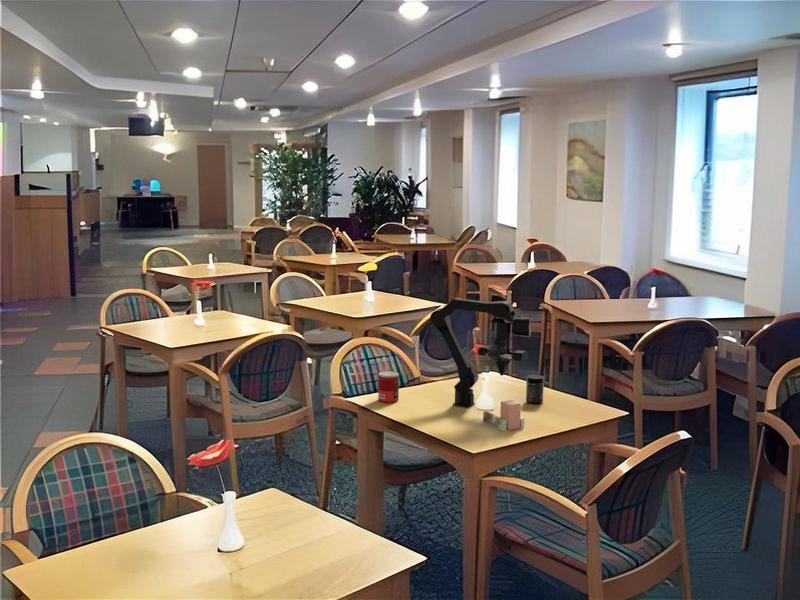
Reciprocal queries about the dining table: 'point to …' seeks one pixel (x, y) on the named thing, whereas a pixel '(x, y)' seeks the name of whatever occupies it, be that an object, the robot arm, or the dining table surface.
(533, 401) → the supplement container
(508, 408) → the block
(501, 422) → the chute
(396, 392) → the canned food
